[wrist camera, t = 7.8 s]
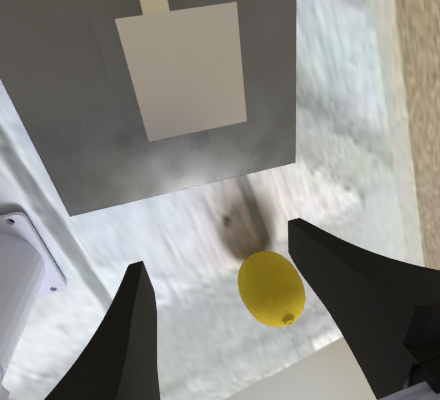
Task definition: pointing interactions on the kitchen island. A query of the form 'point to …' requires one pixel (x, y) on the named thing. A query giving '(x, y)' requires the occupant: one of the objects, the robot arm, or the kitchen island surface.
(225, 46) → the post
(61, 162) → the stand base
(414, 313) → the robot arm
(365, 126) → the kitchen island surface
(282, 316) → the lemon
